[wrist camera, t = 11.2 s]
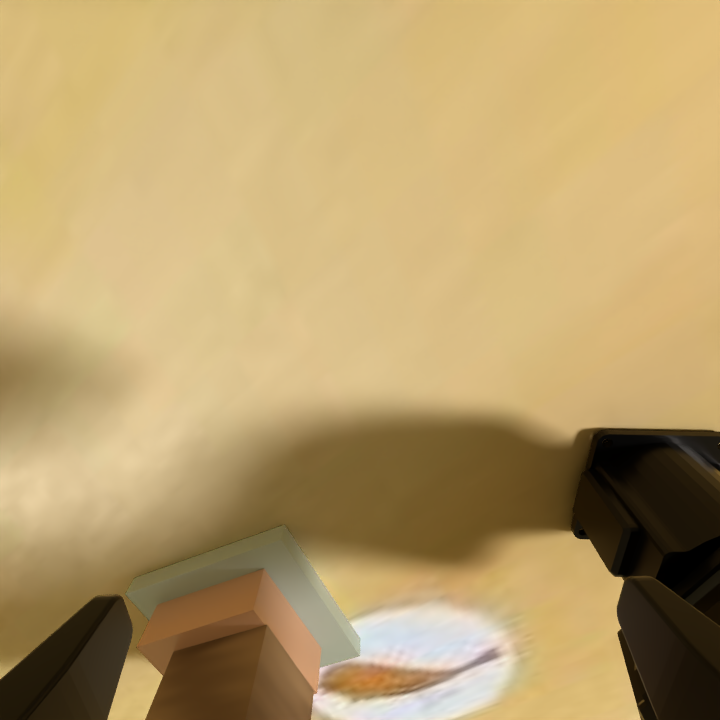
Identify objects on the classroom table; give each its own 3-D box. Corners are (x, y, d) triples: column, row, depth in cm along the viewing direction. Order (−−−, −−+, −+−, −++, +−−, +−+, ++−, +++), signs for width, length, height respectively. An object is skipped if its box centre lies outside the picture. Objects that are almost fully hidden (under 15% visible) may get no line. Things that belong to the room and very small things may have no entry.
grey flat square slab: (287, 512, 25) (281, 539, 24) (360, 625, 29) (360, 656, 27) (141, 565, 27) (124, 594, 25) (226, 665, 31) (218, 697, 29)
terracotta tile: (264, 568, 24) (253, 609, 22) (321, 648, 27) (317, 693, 24) (157, 604, 26) (136, 647, 23) (221, 677, 28) (207, 723, 26)
